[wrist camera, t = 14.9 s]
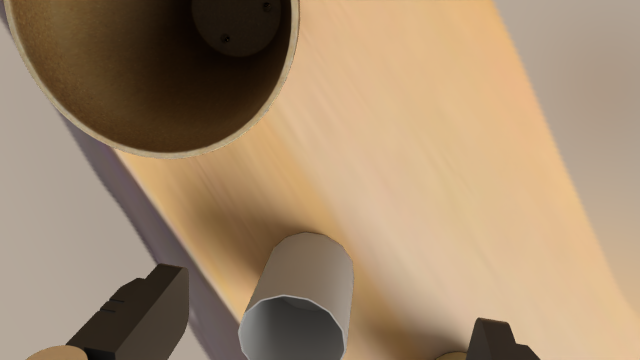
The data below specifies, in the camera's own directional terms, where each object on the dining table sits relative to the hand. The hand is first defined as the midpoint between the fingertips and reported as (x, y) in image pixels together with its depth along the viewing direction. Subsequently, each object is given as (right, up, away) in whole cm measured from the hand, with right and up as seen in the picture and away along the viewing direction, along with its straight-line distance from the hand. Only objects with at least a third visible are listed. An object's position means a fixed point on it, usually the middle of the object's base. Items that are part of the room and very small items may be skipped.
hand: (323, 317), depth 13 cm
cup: (-1, -5, +33) cm, 33 cm away
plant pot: (-6, +18, +25) cm, 31 cm away
